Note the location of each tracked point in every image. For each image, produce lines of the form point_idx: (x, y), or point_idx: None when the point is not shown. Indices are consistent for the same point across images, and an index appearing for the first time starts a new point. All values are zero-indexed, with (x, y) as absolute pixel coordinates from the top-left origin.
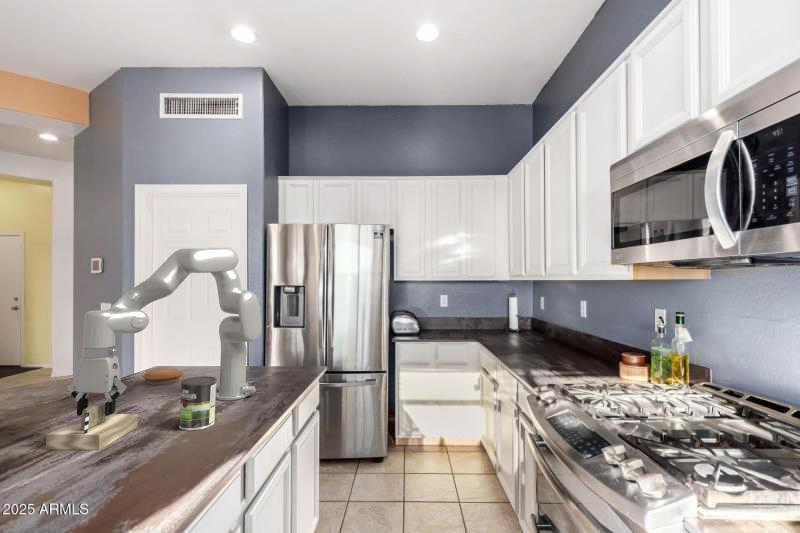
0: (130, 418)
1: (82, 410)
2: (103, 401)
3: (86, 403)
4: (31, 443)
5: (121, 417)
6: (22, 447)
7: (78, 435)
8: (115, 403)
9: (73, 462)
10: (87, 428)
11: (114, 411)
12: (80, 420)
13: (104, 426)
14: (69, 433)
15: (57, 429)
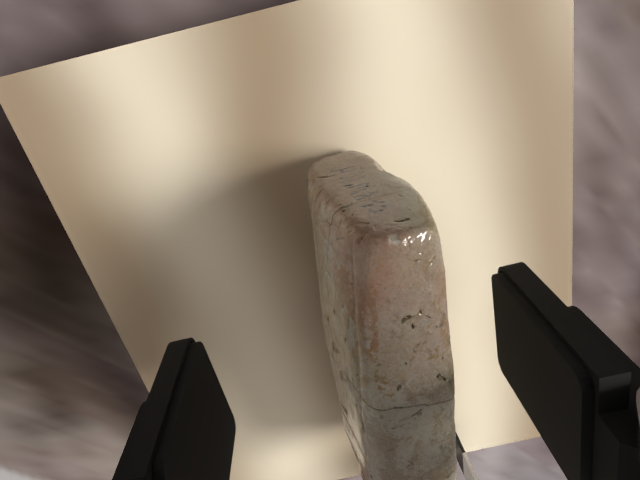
0: (570, 84)
1: (218, 429)
2: (387, 366)
3: (187, 444)
4: (39, 399)
5: (455, 94)
6: (64, 441)
7: None
8: (627, 360)
9: (506, 469)
10: (467, 458)
11: (526, 269)
12: (125, 276)
13: (478, 318)
14: (343, 465)
15: None
